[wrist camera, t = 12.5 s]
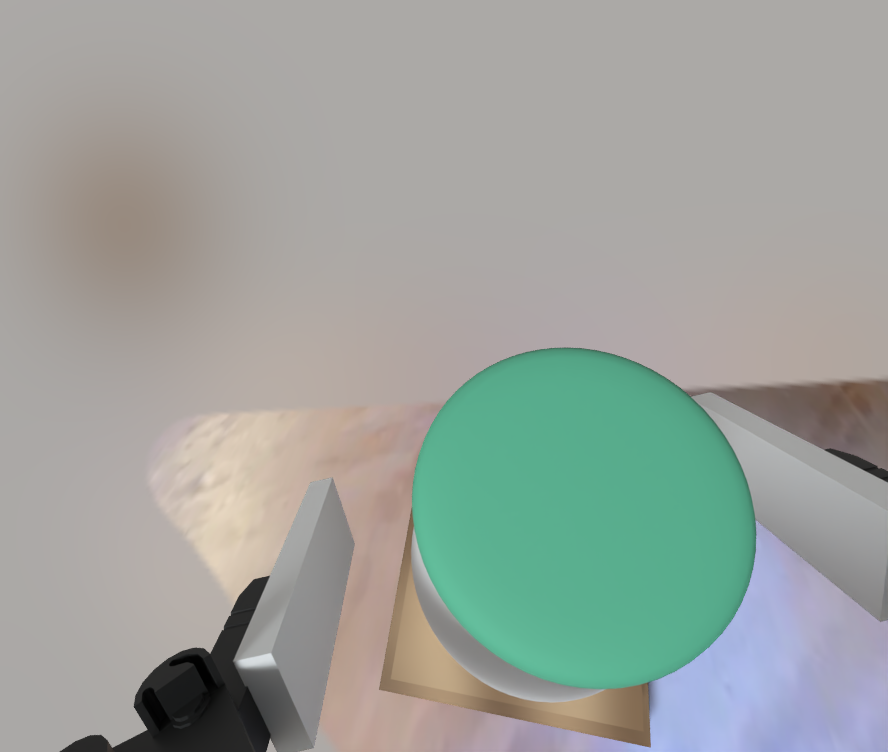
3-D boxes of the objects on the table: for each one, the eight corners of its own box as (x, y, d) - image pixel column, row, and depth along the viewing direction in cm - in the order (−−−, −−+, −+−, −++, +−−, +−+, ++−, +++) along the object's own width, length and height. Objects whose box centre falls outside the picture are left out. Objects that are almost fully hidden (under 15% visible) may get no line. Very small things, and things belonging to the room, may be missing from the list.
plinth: (630, 477, 29) (651, 458, 25) (638, 735, 23) (668, 764, 19) (427, 452, 32) (417, 431, 28) (387, 683, 26) (367, 698, 22)
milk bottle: (460, 488, 26) (372, 247, 8) (596, 510, 24) (847, 275, 7) (435, 638, 22) (197, 778, 5) (591, 673, 21) (1062, 1051, 3)
